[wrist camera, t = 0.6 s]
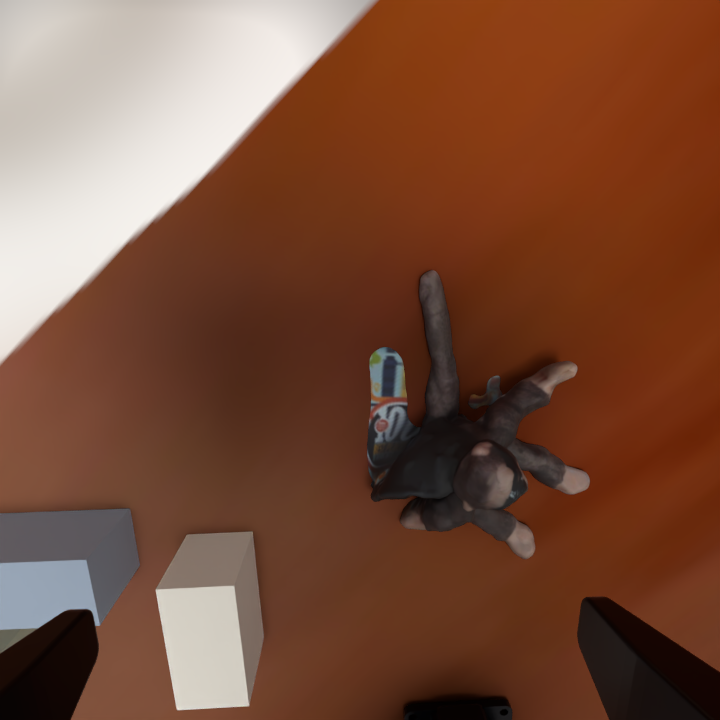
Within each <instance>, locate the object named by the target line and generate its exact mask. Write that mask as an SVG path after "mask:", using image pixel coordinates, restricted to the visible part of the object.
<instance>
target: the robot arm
mask: <svg viewBox="0 0 720 720" xmlns="http://www.w3.org/2000/svg"><path fill="white" fill-rule="evenodd" d="M577 637H578V643H579V647H580V649H581V652H582V654H583V657H584V659H585V662H586V664H587V666H588V669H589V671H590V674H591V676H592V679H593V681H594V683H595V686H596V688H597V691H598V693H599V696H600V698H601V700H602V703H603V705H604V708H605V710H606V713H607V715H608V717H609V720H720V672H719V671H717V670H716V669H714V668H713V667H711V666H710V665H708V664H707V663H705V662H704V661H702V660H701V659H699V658H698V657H696V656H695V655H693V654H692V653H690V652H689V651H687V650H686V649H684V648H683V647H681V646H680V645H678V644H677V643H675V642H674V641H672V640H671V639H669V638H668V637H666V636H665V635H663V634H662V633H660V632H659V631H657V630H656V629H654V628H653V627H651V626H650V625H648V624H647V623H645V622H644V621H642V620H641V619H639V618H638V617H636V616H635V615H633V614H632V613H630V612H629V611H627V610H626V609H624V608H623V607H621V606H620V605H618V604H617V603H615V602H614V601H612V600H611V599H609V598H607V597H586V598H584V599H583V600H582V603H581V609H580V616H579V624H578V631H577ZM98 651H99V643H98V638H97V632H96V626H95V621H94V616H93V613H92V611H91V610H88V609H70V610H66V611H64V612H62V613H60V614H59V615H57V616H56V617H54V618H53V619H51V620H50V621H48V622H47V623H45V624H44V625H42V626H41V627H39V628H38V629H36V630H35V631H33V632H32V633H30V634H29V635H27V636H26V637H24V638H23V639H21V640H20V641H18V642H16V643H15V644H13V645H12V646H10V647H9V648H7V649H6V650H4V651H3V652H1V653H0V720H71V718H72V715H73V713H74V711H75V708H76V706H77V704H78V702H79V699H80V697H81V695H82V692H83V690H84V688H85V685H86V683H87V681H88V679H89V676H90V674H91V672H92V669H93V667H94V665H95V662H96V660H97V656H98ZM404 720H512V709H511V706H510V703H509V702H508V701H507V700H505V699H496V700H478V701H460V702H442V703H425V704H411V705H408V706H406V707H405V708H404Z"/></svg>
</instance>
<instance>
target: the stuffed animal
mask: <svg viewBox="0 0 720 720" xmlns="http://www.w3.org/2000/svg"><path fill="white" fill-rule="evenodd" d="M419 298H420V301H421V304H422V308H423V315H424V320H425V334H426V338H427V342H428V347H429V353H430V355H431V359H432V365H431V371H430V375H429V379H428V384H427V387H426V392H425V403H426V415H425V417H424V419H423V421H422V427H416V426H414V425H413V424H412V423H411V422H410V420H409V418H408V415H407V394H406V386H405V372H404V366H403V362H402V359H401V357H400V356H399V355H398V353H397V352H396V351H395V350H393V349H391V348H389V347H382V348H380V349H378V350H377V351H375V352H374V353H373V354H372V356H371V358H370V379H371V412H370V419H369V429H368V443H367V454H368V468H369V473H370V476H371V478H372V480H373V482H372V483H371V487H372V488H373V491H372V493H371V499H372V500H373V501H374V502H377V501H380V500H384V499H407V498H409V497H411V496H417V498H416V499H414V500H412V501H410V502H409V503H408V504H407V506H406V507H405V508H404V510H403V512H402V516H401V518H400V523H401V524H402V525H403V526H404V527H405V528H408V529H418V530H427V531H439V532H443V531H449V530H451V529H453V528H456V527H459V526H461V525H464V524H465V523H467V522H472V523H473V524H475V525H477V526H478V527H480V528H481V529H483V530H484V531H485V532H487V533H489V534H491V535H493V537H494V538H495V539H496V540H499V541H505V542H507V544H508V545H509V547H510V548H511V550H512V551H513V552H514V553H515V554H516V555H518V556H520V557H521V558H523V559H528V558H529V557H531V556H532V555H533V554H534V551H535V543H534V536H533V533H532V531H531V530H530V528H529V527H528V526H527V525H525V524H523V523H520V522H519V521H518V520H516V518H515V517H514V516H513V515H512V514H511V513H509V512H507V511H504V510H503V509H505V508H507V507H508V506H510V505H511V504H512V503H514V502H515V501H516V500H517V499H518V498H519V497H520V496H522V495H523V494H524V493H525V492H526V491H527V490H528V483H527V479H526V477H525V475H524V473H523V472H522V470H523V471H530V472H531V473H532V475H533V476H534V478H535V479H537V480H538V481H540V482H541V483H543V484H545V485H547V486H549V487H551V488H553V489H558V490H560V491H562V492H564V493H566V494H576V493H579V492H581V491H584V490H586V489H587V488H588V487H589V484H590V479H589V476H588V474H587V473H586V472H584V471H582V470H579V469H576V468H573V467H570V466H566V465H565V464H564V463H563V462H562V461H561V460H560V459H559V458H558V457H556V456H555V455H553V454H551V453H550V452H549V451H548V450H547V449H546V448H544V447H542V446H539V445H534V444H527V443H523V442H521V441H520V440H518V439H516V438H515V437H516V433H517V429H518V426H519V423H520V421H521V420H522V419H523V418H524V417H525V416H526V415H528V414H529V413H531V412H532V411H534V410H536V409H538V408H541V407H544V406H546V405H548V404H549V402H550V398H551V395H552V392H553V389H554V388H555V387H556V386H557V385H558V384H559V383H561V382H563V381H566V380H568V379H570V378H573V377H574V376H575V374H576V372H577V366H576V364H574V363H573V362H570V361H564V362H557V363H553V364H550V365H548V366H546V367H544V368H542V369H541V370H539V371H538V372H537V373H535V374H534V375H533V376H531V377H529V378H526V379H524V380H522V381H520V382H518V383H517V384H516V385H515V386H514V387H513V388H512V389H511V390H510V391H508V392H507V393H506V394H504V395H503V394H502V392H501V391H500V388H499V385H500V377H499V376H494V377H492V378H490V379H489V381H488V383H487V392H486V393H485V394H484V395H483V396H477V395H475V394H473V395H471V397H470V399H469V401H468V405H469V406H470V407H471V408H473V409H477V408H478V407H480V406H483V405H489V407H488V408H487V410H486V412H485V414H484V415H483V416H482V417H481V418H480V419H478V420H477V421H476V422H473V421H471V420H468V419H467V418H466V416H465V415H463V414H459V415H458V412H459V378H458V376H457V373H456V362H455V358H454V355H453V348H452V336H451V326H450V318H449V312H448V309H447V304H446V300H445V294H444V289H443V286H442V282H441V279H440V277H439V275H438V274H437V272H436V271H433V270H431V271H428V272H426V273H425V274H423V275H422V277H421V278H420V286H419Z"/></svg>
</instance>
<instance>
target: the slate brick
mask: <svg viewBox="0 0 720 720" xmlns="http://www.w3.org/2000/svg"><path fill="white" fill-rule="evenodd" d="M139 566H140V563H139V557H138V551H137V546H136V540H135V534H134V528H133V523H132V517H131V511H130V509H105V510H78V511H52V512H26V513H0V630H7V629H30V628H39V627H41V626H42V625H44V624H45V623H47V622H48V621H50V620H51V619H53V618H54V617H56V616H57V615H59V614H60V613H62V612H64V611H66V610H70V609H88V610H91V611H92V613H93V616H94V621H95V626H99V625H101V623H102V622H103V620H104V619H105V617H106V616H107V614H108V613H109V611H110V610H111V608H112V607H113V605H114V604H115V602H116V601H117V599H118V598H119V596H120V595H121V593H122V592H123V590H124V589H125V587H126V586H127V584H128V583H129V581H130V580H131V578H132V577H133V575H134V574H135V572H136V571H137V569H138V568H139Z"/></svg>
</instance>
